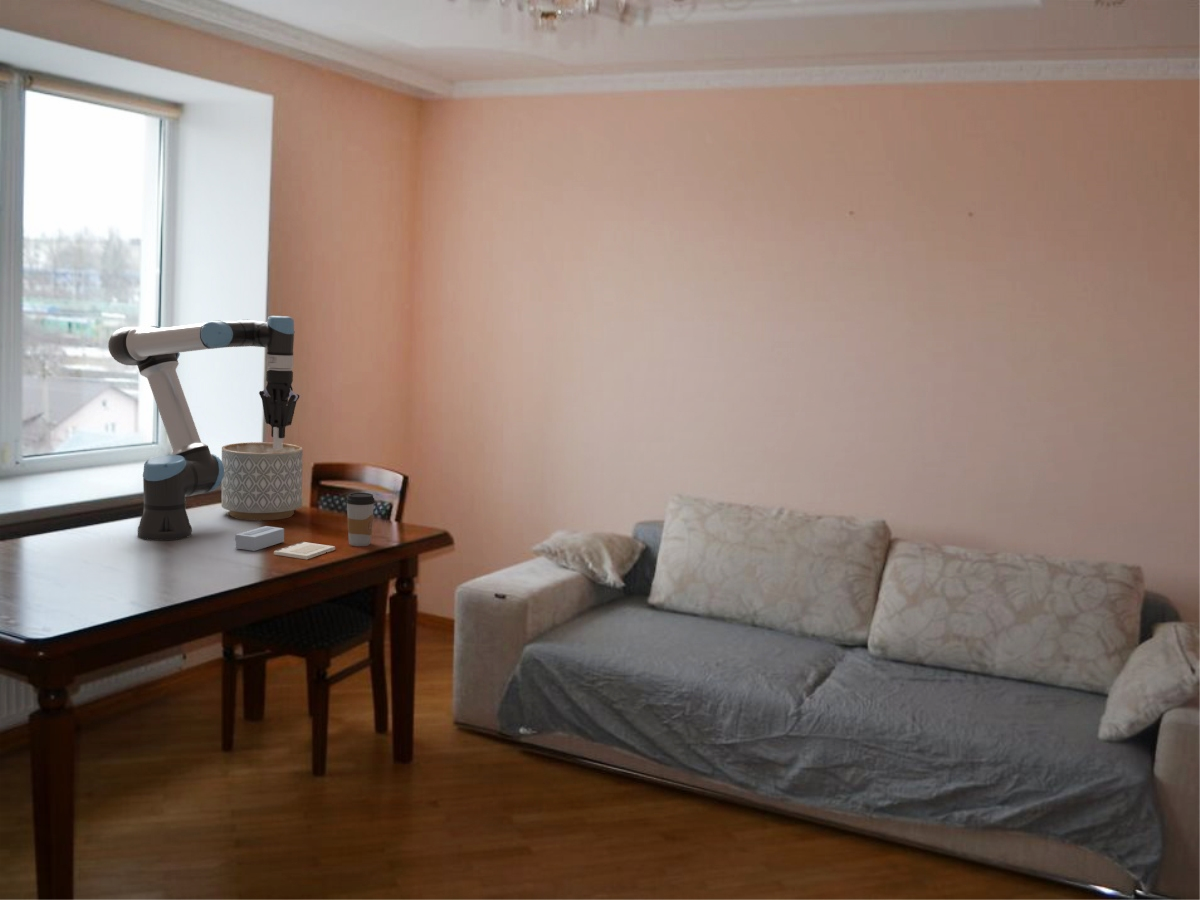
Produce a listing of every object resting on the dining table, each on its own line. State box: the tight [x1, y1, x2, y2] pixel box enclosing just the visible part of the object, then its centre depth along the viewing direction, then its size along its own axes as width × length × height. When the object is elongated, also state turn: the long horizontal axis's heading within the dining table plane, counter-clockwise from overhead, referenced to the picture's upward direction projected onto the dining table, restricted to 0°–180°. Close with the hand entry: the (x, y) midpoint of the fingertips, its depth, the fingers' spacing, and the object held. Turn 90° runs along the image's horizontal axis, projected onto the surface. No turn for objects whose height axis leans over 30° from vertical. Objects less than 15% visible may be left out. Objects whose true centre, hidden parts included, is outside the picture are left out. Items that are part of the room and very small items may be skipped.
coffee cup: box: [345, 492, 376, 547], centre depth 340 cm, size 8×8×15 cm
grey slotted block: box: [235, 525, 285, 552], centre depth 333 cm, size 6×14×4 cm, turn 160°
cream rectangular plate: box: [273, 541, 336, 560], centre depth 328 cm, size 11×14×1 cm
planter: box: [221, 441, 304, 521], centre depth 375 cm, size 26×26×22 cm
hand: (277, 448), depth 337 cm, fingers closed
